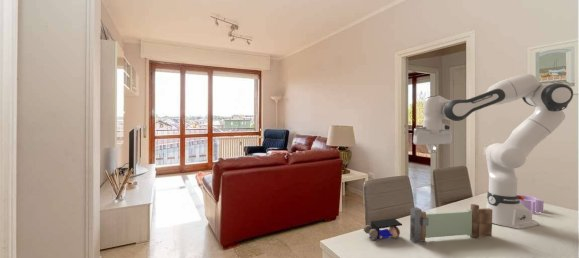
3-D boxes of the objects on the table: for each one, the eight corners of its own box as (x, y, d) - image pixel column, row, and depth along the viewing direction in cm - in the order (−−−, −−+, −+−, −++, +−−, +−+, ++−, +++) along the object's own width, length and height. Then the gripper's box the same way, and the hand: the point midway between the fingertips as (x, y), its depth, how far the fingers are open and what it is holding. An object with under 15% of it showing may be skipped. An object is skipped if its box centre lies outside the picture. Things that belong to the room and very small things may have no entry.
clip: (492, 203, 160) (492, 192, 160) (507, 201, 163) (507, 190, 163) (530, 215, 141) (531, 202, 140) (546, 212, 144) (547, 200, 144)
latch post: (421, 239, 113) (422, 207, 112) (428, 243, 109) (428, 210, 108) (410, 240, 112) (410, 207, 111) (415, 244, 108) (416, 211, 107)
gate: (468, 234, 116) (468, 207, 115) (472, 237, 113) (473, 209, 113) (417, 238, 112) (418, 211, 112) (421, 241, 110) (421, 213, 109)
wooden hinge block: (487, 234, 118) (487, 203, 117) (493, 237, 115) (494, 205, 114) (468, 235, 116) (469, 204, 116) (473, 238, 113) (474, 206, 113)
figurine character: (371, 247, 109) (404, 239, 112) (370, 229, 109) (402, 222, 112) (364, 239, 116) (394, 232, 119) (362, 222, 115) (393, 216, 118)
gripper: (418, 127, 133) (418, 154, 133) (454, 126, 136) (453, 153, 136) (410, 126, 139) (410, 152, 139) (445, 126, 142) (445, 151, 142)
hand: (432, 152), depth 138 cm, fingers closed
